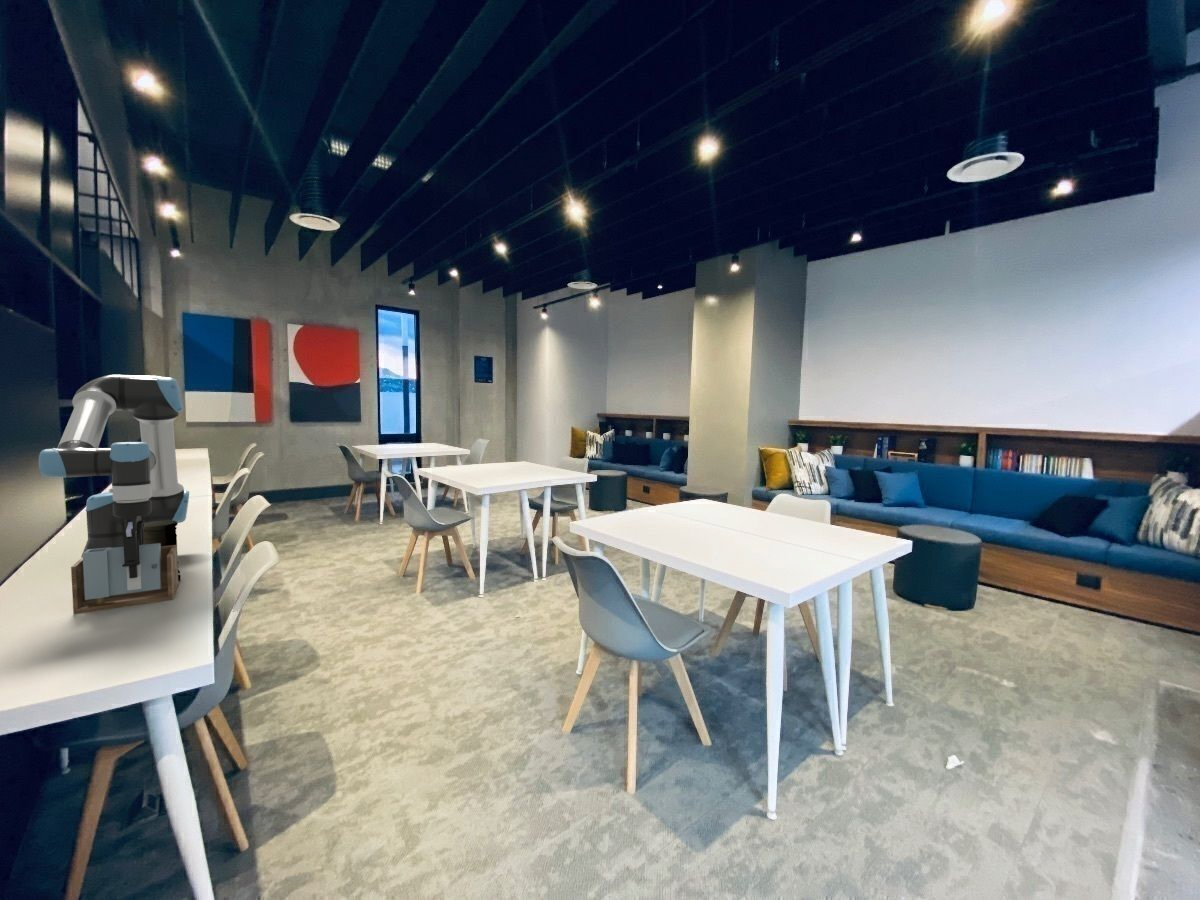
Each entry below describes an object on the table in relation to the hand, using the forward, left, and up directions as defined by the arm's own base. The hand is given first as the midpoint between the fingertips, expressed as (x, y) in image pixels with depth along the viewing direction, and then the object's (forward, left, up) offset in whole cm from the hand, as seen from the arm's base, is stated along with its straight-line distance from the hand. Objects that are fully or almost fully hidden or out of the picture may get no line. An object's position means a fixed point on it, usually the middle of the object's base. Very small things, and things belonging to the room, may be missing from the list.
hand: (135, 587), depth 133 cm
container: (-18, +3, -4) cm, 18 cm away
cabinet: (-5, -2, -4) cm, 7 cm away
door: (0, -2, -1) cm, 2 cm away
